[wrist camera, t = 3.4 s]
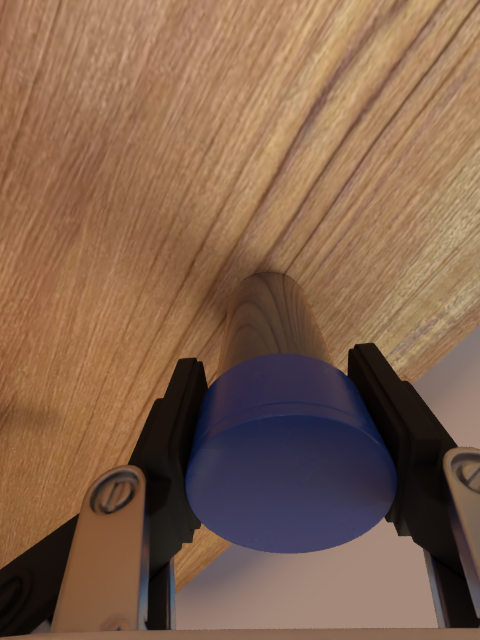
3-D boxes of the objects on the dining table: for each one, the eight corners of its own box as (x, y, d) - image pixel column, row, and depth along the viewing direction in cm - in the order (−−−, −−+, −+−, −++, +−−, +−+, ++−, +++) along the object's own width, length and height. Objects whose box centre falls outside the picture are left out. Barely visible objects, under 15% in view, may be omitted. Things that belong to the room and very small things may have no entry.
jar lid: (372, 344, 8) (416, 405, 6) (362, 473, 10) (391, 552, 8) (185, 360, 8) (162, 422, 6) (213, 480, 10) (203, 556, 8)
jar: (306, 267, 15) (384, 403, 6) (308, 340, 17) (370, 526, 8) (223, 276, 16) (184, 417, 7) (234, 346, 17) (214, 531, 8)
